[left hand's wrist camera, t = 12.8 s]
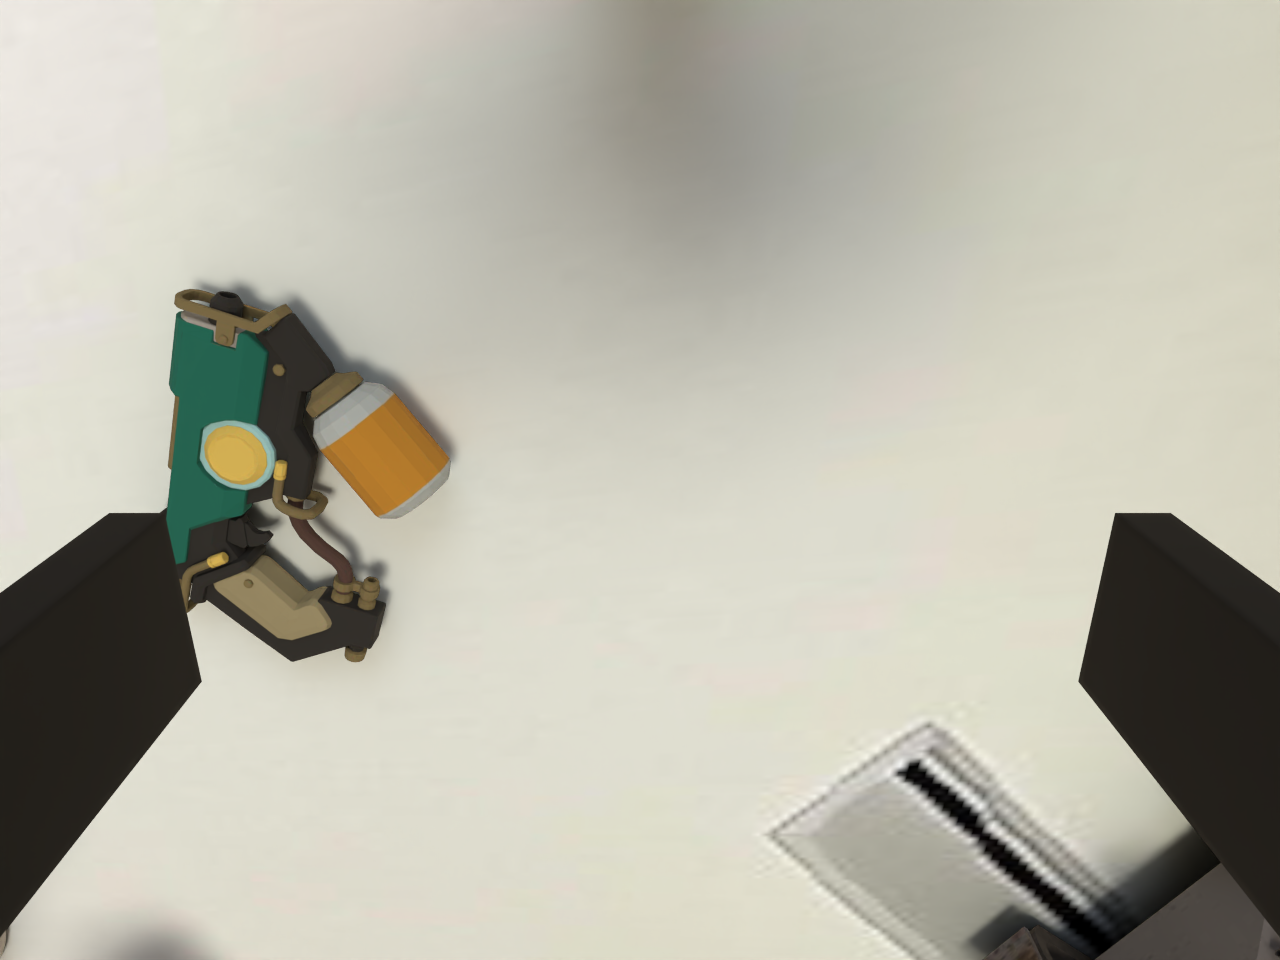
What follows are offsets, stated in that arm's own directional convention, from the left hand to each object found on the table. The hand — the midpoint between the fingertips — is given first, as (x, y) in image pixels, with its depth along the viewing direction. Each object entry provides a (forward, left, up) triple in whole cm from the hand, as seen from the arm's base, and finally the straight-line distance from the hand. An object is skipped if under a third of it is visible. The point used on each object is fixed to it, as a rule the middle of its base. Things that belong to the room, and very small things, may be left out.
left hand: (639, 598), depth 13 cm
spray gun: (+19, -5, -29) cm, 35 cm away
